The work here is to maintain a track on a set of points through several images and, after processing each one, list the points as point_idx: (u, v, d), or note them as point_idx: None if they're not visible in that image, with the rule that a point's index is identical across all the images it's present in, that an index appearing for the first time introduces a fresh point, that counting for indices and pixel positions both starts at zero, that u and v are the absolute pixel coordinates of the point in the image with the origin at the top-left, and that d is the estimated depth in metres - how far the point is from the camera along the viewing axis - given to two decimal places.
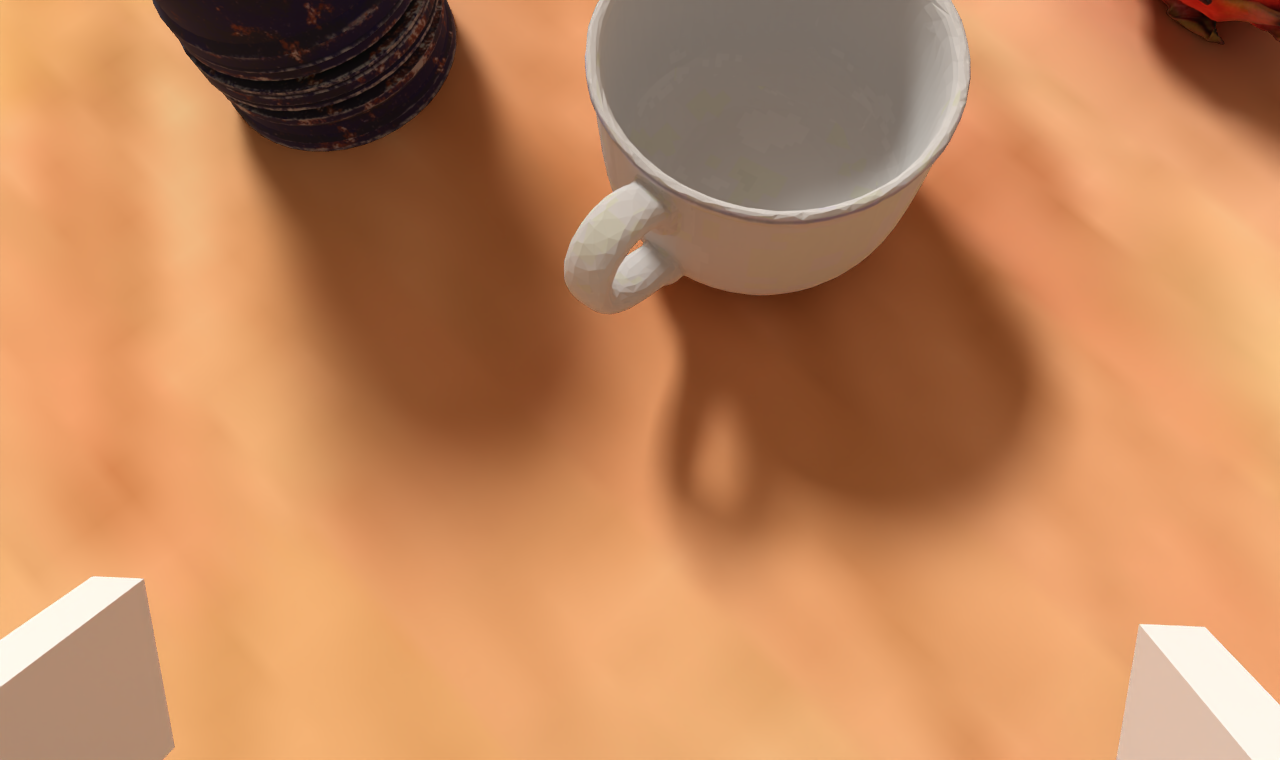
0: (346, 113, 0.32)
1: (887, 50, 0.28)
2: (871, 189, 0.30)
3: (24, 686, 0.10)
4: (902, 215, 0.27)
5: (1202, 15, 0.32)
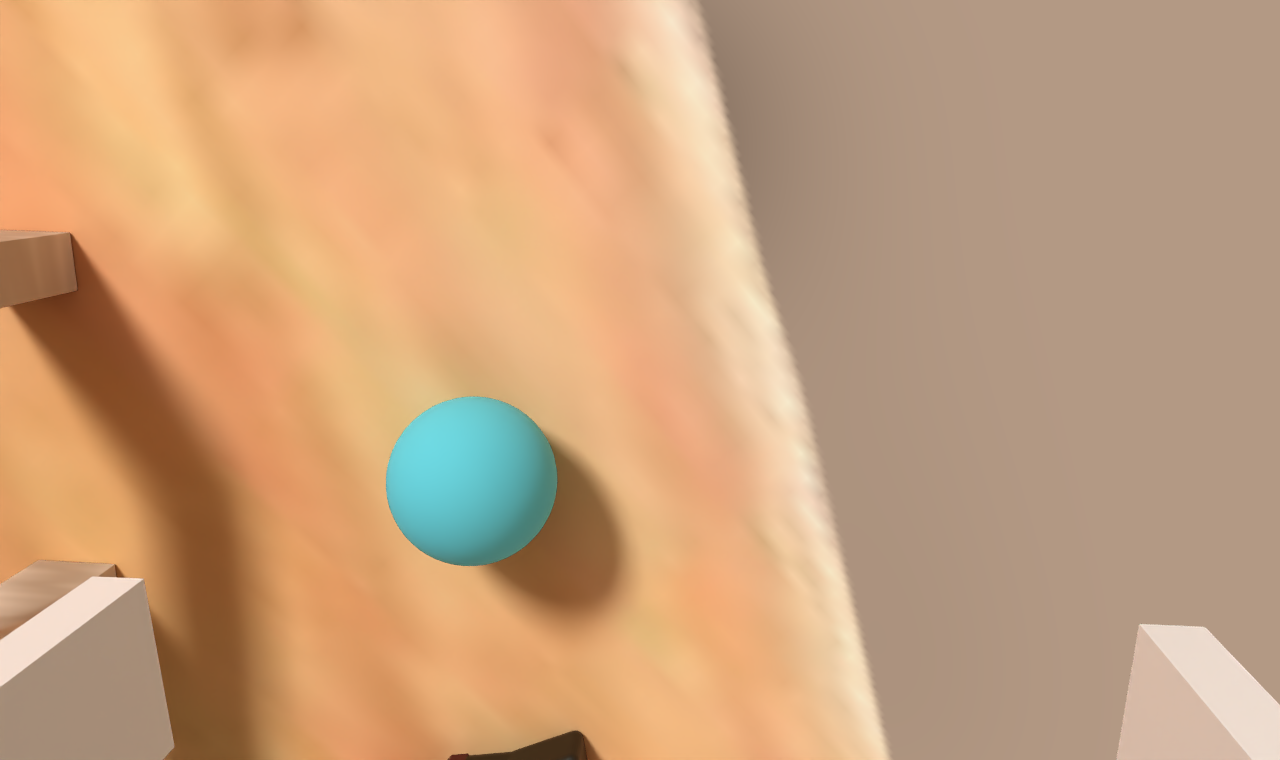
0: None
1: None
2: None
3: (23, 686, 0.10)
4: None
5: None
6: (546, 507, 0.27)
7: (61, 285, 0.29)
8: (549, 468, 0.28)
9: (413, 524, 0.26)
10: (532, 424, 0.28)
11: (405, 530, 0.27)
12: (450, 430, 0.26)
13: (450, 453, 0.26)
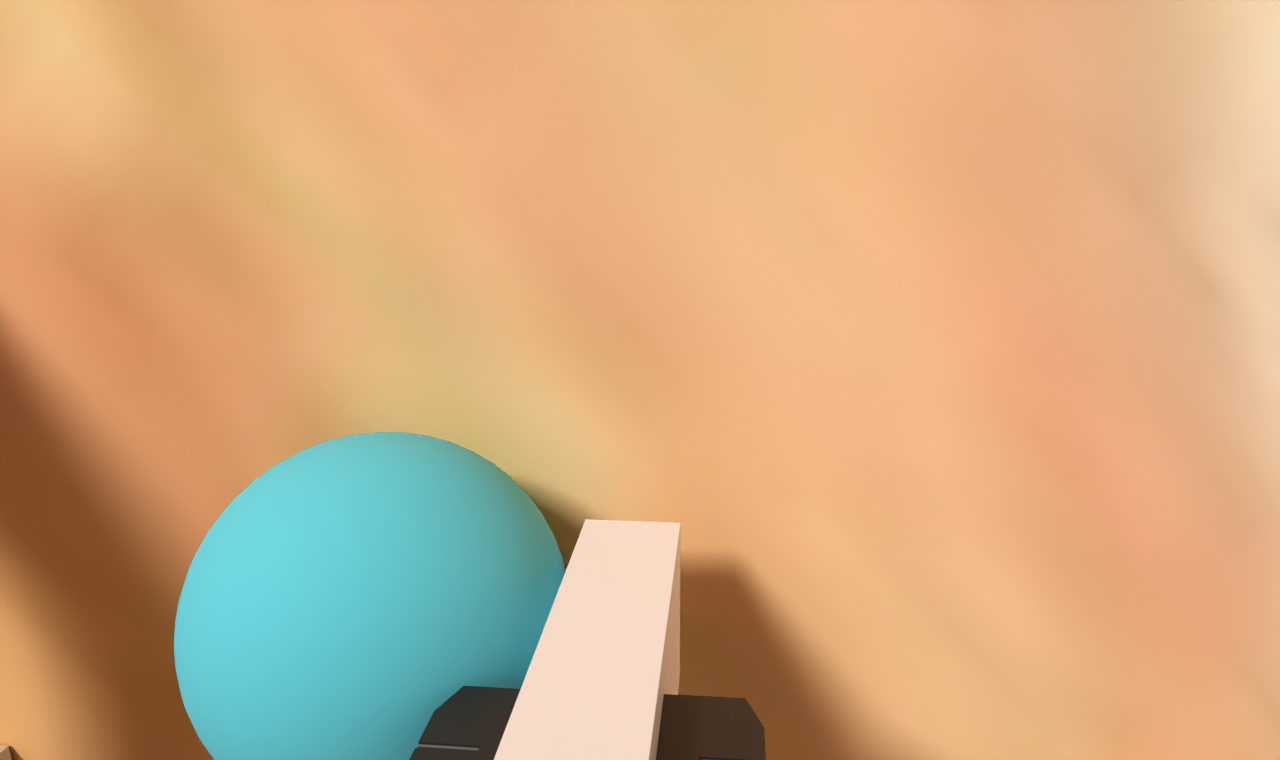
0: None
1: None
2: None
3: (615, 604, 0.11)
4: None
5: None
6: None
7: None
8: (297, 682, 0.10)
9: None
10: (360, 558, 0.10)
11: None
12: None
13: None
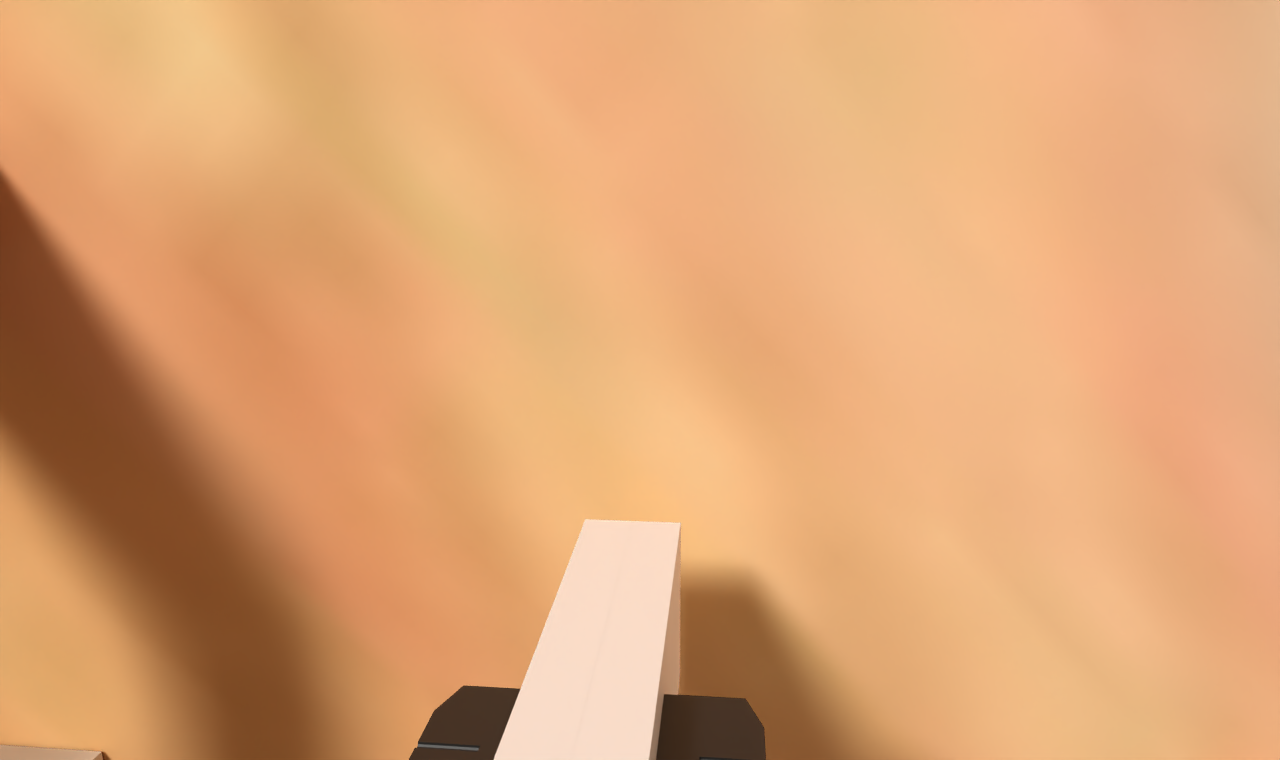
0: None
1: None
2: None
3: (615, 603, 0.11)
4: None
5: None
6: None
7: None
8: None
9: None
10: None
11: None
12: None
13: None
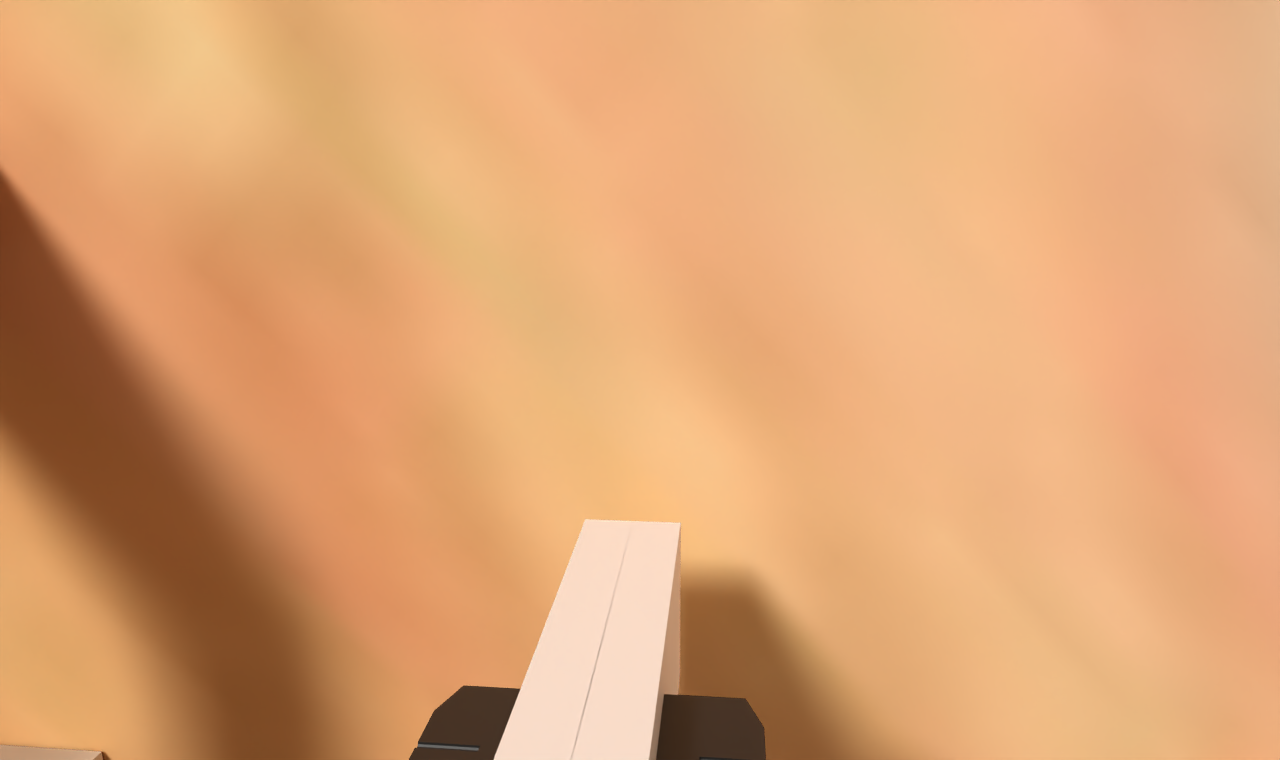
0: None
1: None
2: None
3: (615, 603, 0.11)
4: None
5: None
6: None
7: None
8: None
9: None
10: None
11: None
12: None
13: None
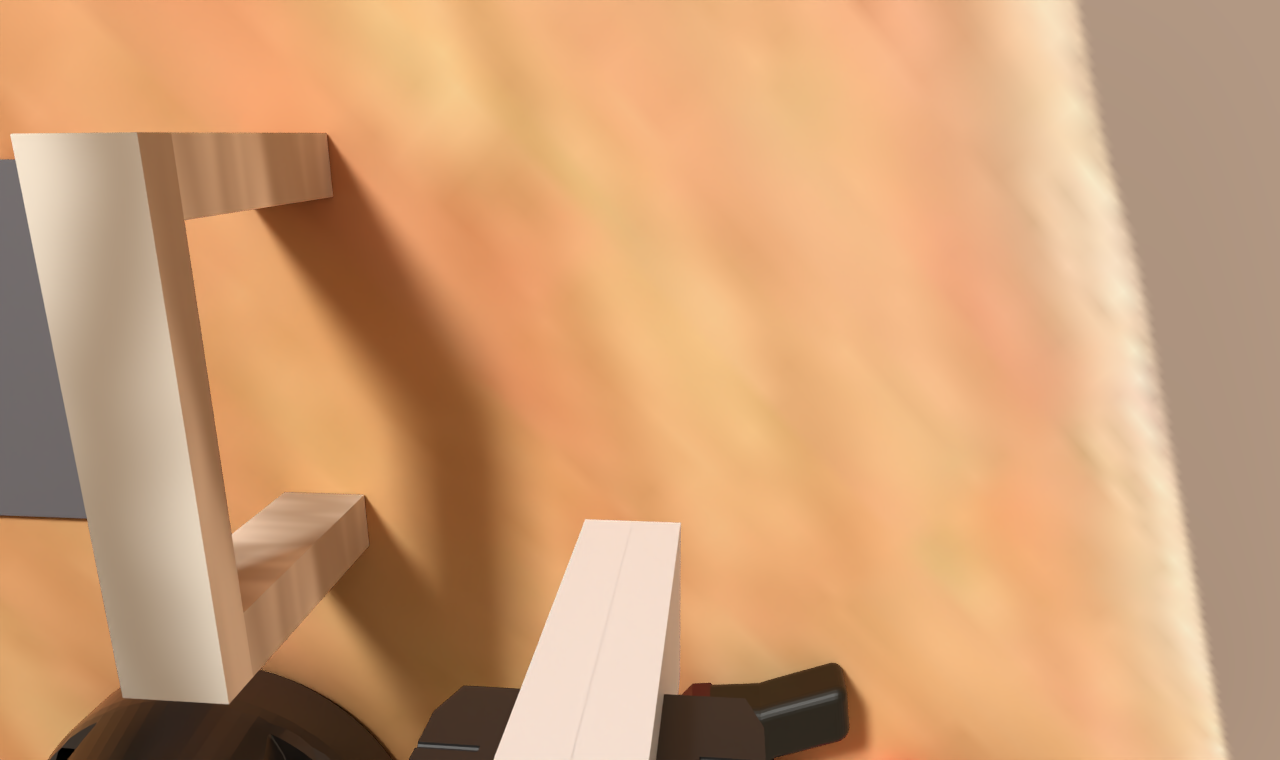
0: None
1: None
2: None
3: (615, 603, 0.11)
4: None
5: None
6: None
7: (321, 189, 0.27)
8: None
9: None
10: None
11: None
12: None
13: None
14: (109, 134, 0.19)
